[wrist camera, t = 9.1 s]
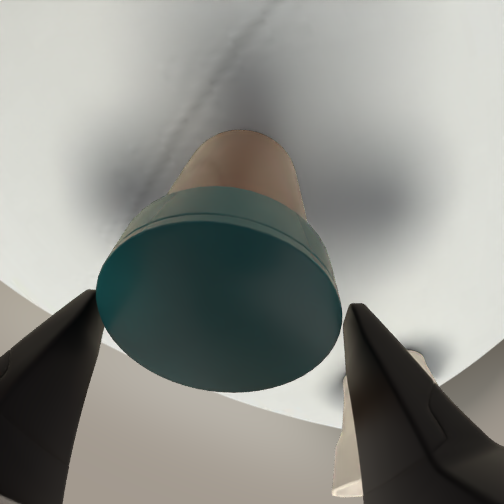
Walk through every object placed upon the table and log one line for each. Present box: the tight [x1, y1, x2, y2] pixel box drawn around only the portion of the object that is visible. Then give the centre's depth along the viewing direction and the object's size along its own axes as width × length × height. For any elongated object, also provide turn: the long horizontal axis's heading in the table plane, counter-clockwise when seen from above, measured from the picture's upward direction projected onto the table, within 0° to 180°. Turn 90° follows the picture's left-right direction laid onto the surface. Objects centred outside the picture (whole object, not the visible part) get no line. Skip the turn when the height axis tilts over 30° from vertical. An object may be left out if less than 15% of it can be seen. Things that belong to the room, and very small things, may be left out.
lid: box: [96, 186, 342, 393], centre depth 9 cm, size 7×7×2 cm
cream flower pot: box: [332, 350, 438, 497], centre depth 22 cm, size 12×12×11 cm
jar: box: [167, 130, 308, 223], centre depth 12 cm, size 6×6×10 cm
